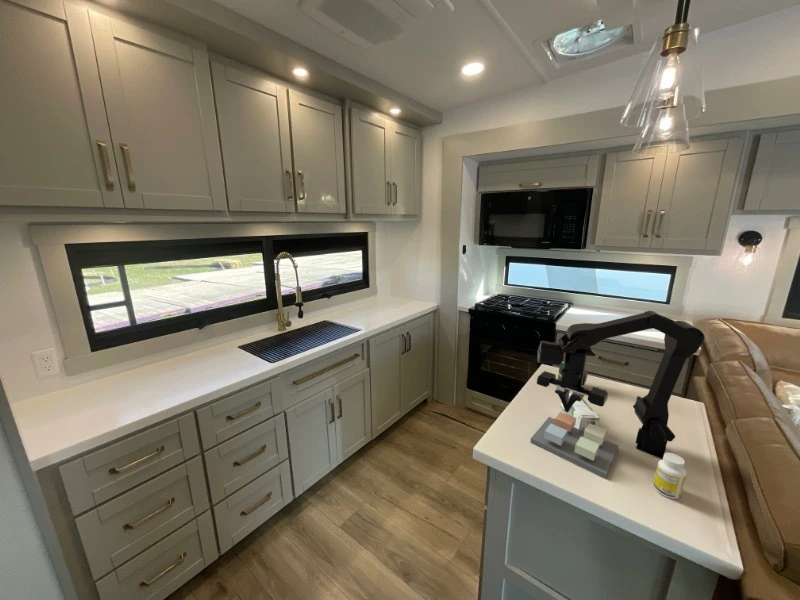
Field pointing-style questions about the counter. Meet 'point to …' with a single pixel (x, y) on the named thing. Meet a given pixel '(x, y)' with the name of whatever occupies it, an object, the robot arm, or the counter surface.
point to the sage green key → (587, 448)
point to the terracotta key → (565, 421)
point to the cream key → (595, 433)
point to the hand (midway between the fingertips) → (567, 411)
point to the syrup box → (582, 414)
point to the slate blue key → (555, 434)
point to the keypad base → (568, 447)
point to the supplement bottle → (670, 476)
